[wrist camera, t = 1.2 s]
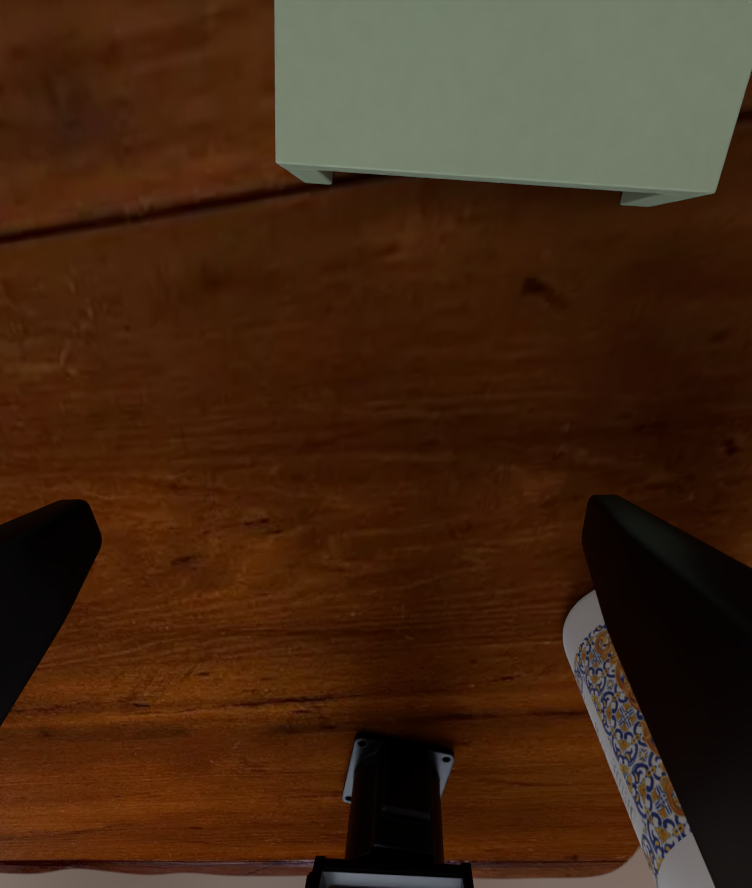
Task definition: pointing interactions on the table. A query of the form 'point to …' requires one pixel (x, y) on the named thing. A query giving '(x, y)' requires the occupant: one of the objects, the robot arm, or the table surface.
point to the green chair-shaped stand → (514, 91)
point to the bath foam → (631, 751)
